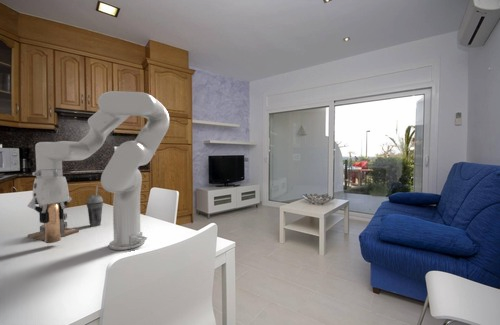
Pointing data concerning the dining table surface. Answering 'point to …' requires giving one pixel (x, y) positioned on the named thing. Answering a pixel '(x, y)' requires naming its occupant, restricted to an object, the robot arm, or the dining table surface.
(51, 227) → the copper tube
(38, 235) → the collar stand
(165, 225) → the dining table surface
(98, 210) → the beverage cup
